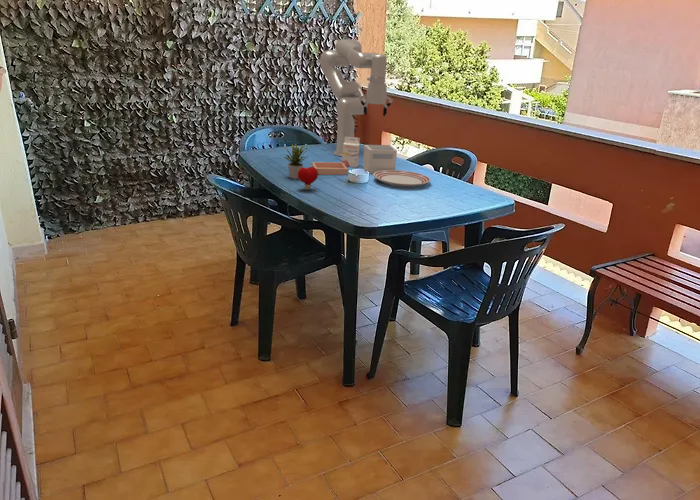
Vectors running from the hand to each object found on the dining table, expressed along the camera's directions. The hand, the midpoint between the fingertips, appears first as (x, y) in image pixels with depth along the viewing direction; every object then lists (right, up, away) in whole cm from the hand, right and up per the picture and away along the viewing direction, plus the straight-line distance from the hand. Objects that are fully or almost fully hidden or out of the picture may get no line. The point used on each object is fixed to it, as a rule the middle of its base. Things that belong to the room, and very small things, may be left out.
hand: (374, 115), depth 275 cm
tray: (-23, -30, -7) cm, 39 cm away
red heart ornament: (-32, -43, -39) cm, 66 cm away
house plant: (-37, -35, -22) cm, 56 cm away
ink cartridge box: (-13, -25, +6) cm, 29 cm away
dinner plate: (+12, -37, -18) cm, 43 cm away
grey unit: (+2, -29, 0) cm, 29 cm away
